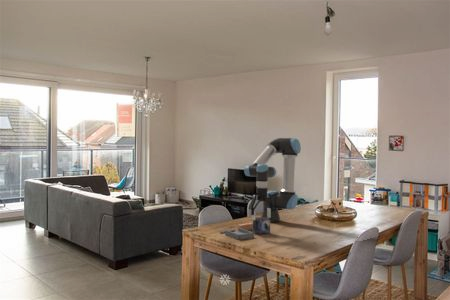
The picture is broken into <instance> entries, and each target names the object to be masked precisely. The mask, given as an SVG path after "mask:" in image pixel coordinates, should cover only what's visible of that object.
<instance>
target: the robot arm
mask: <svg viewBox="0 0 450 300" xmlns="http://www.w3.org/2000/svg"><path fill="white" fill-rule="evenodd" d="M301 150H302V146H301V142H300V140H299V139H298V138H296V137H295V138H294V137H279V138H275V139H273V140H271V141H270V142H269V143H267V144H266V146H264V150H263V151H262V152H261V153H260V154H259V155H258V157H257V158H256V159H255V160H254V161H253V162H252V164H251V165H246V166H245V167H244V171H243V172H244V175H245V176H246V177H253V178H254V177H255V178H256V183H255V184H256V185H255V186H256V187H255V189H256V190H255V193H256V194H253V195H252V199H251V201H250V204H249V207H248V210H250V212H251V213H250V214H251V220H252V221H253V220H255V218H256V210H255V209H256V208H257V207H258V205H259V203H260V202H262V213H261V216H260V217H268V218H269V219H270V223H279V222H280V221H281V216H280V213H279V209H283V210H294V209H295V208H296V207H297V205H298V200H299V196H298V194H296V191H295V190H294V184H295V171H296V170H295V169H296V167H295V166H296V158H297V157H298V155H299V154H300V153H301ZM276 154H281V156H282V157H283V167H282V169H283V171H282V183H281V184H282V185H281V189H280V190H279V191H278V190H268V183H269V181H268V179H271V178H274V177H275V176H276V175H277V169H276V167H274V166H268V162H269V161H270V160H271V158H272V157H273V156H275V155H276Z"/></svg>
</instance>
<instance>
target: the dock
mask: <svg viewBox="0 0 450 300" xmlns="http://www.w3.org/2000/svg"><path fill="white" fill-rule="evenodd" d="M219 234H225V235H224V236H225V237H226V236H227V237H230V238H232V239H235V240H237V239H238V240H237V241H241V239H242V240H246V239H247V238H248V239H252V238H254V235H255V234H254V232H253V231H251V230H244V229H241V228H238V227H237V230H236V229H229V230H228V229H225V230H223V231H220V232H219Z"/></svg>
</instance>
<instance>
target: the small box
mask: <svg viewBox="0 0 450 300" xmlns="http://www.w3.org/2000/svg"><path fill="white" fill-rule="evenodd" d="M252 223H253V229H252V232H254V235H255V236H256V235H257V236H258V235H259V236H260V235H271V222H270V219H269V218H268V217H261V216H260V217H258V216H257V217H255V220H252Z"/></svg>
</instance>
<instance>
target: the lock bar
mask: <svg viewBox="0 0 450 300" xmlns="http://www.w3.org/2000/svg"><path fill="white" fill-rule="evenodd" d="M238 228H241V229H244V230H247V231H251V230H253V222H246V223H242V224H241V223H239V224H237V229H238Z"/></svg>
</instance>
